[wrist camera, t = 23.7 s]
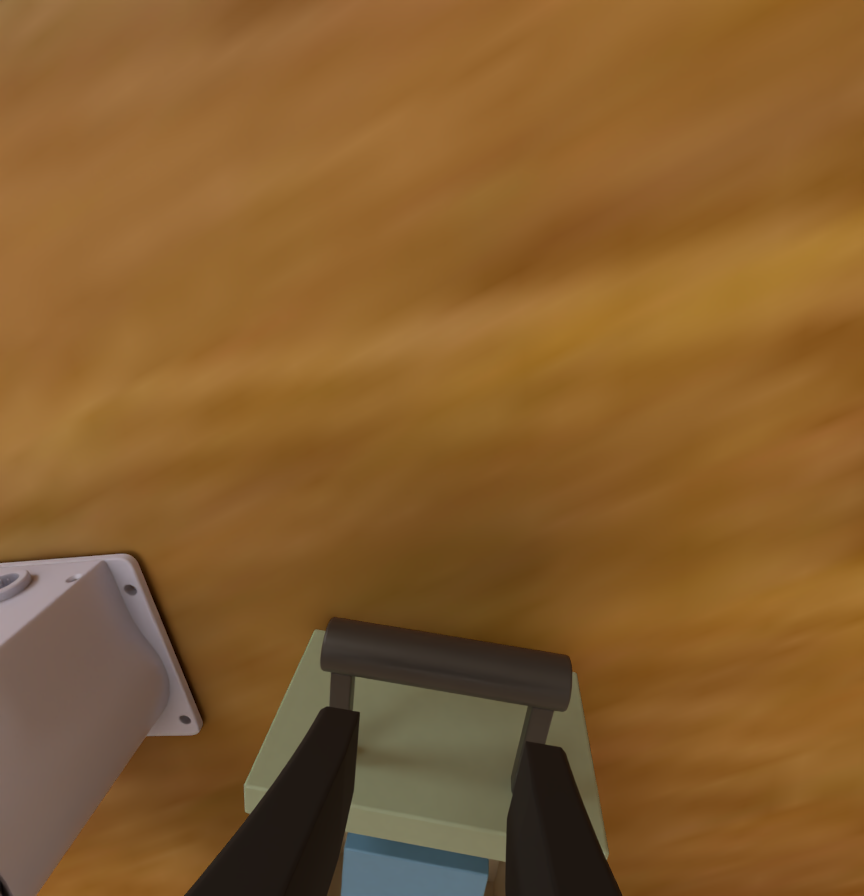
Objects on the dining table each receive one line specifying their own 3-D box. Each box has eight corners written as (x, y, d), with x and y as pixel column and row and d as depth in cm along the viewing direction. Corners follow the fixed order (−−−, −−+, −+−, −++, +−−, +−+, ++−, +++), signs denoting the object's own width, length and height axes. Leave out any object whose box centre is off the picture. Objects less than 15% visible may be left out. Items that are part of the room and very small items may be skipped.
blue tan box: (374, 725, 21) (343, 848, 17) (490, 745, 21) (488, 876, 17) (366, 802, 23) (337, 932, 19) (474, 822, 23) (469, 958, 18)
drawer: (317, 518, 19) (236, 650, 13) (607, 563, 19) (659, 722, 13) (308, 832, 26) (251, 1014, 20) (521, 872, 25) (528, 1073, 19)
